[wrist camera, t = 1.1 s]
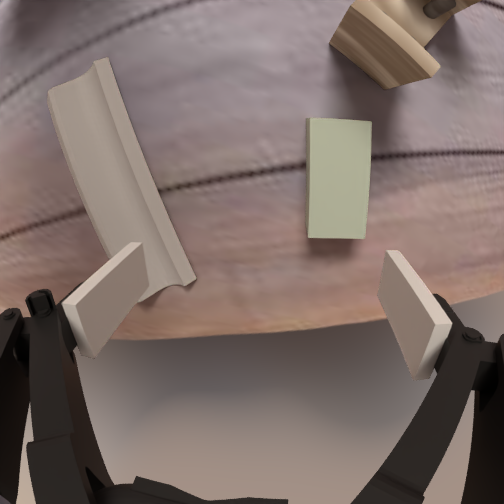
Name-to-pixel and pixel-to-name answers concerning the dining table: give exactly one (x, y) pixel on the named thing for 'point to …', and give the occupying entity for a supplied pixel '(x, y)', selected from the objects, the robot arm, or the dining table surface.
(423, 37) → the frame
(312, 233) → the pale green block
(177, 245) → the crown molding
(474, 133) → the dining table surface
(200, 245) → the dining table surface
